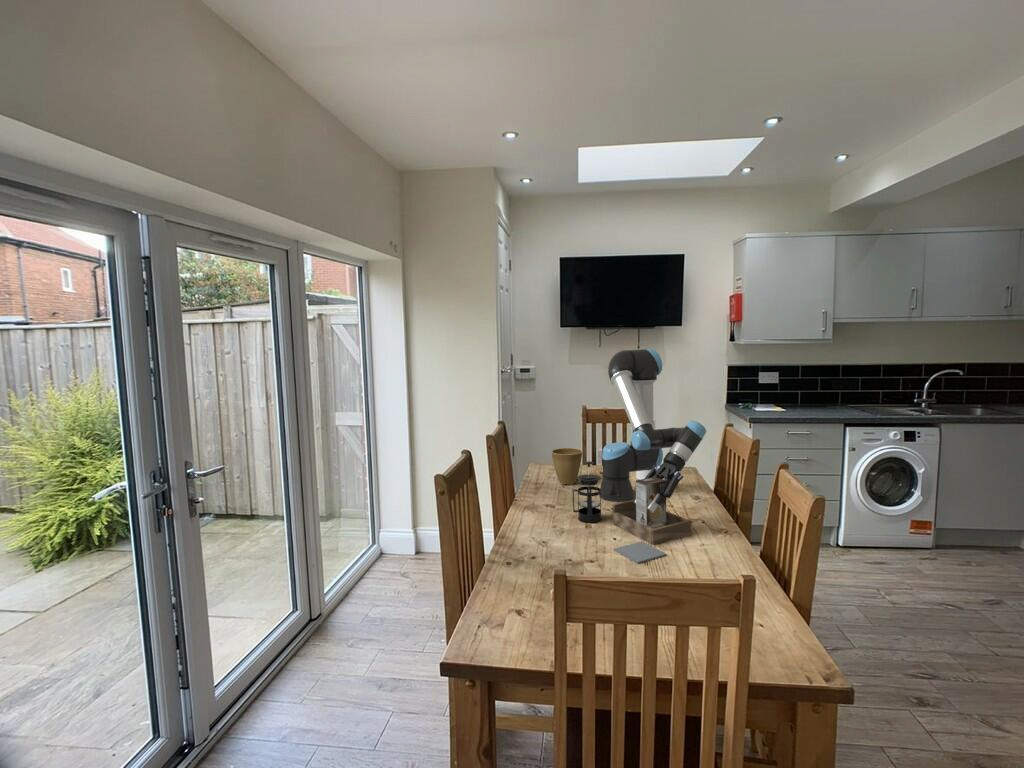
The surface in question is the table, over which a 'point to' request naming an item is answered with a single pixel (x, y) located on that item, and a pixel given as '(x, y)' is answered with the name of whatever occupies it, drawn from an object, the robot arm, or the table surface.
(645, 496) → the coffee box
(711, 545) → the table surface
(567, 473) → the plant pot
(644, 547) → the slate mat
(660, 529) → the wooden tray
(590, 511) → the french press
